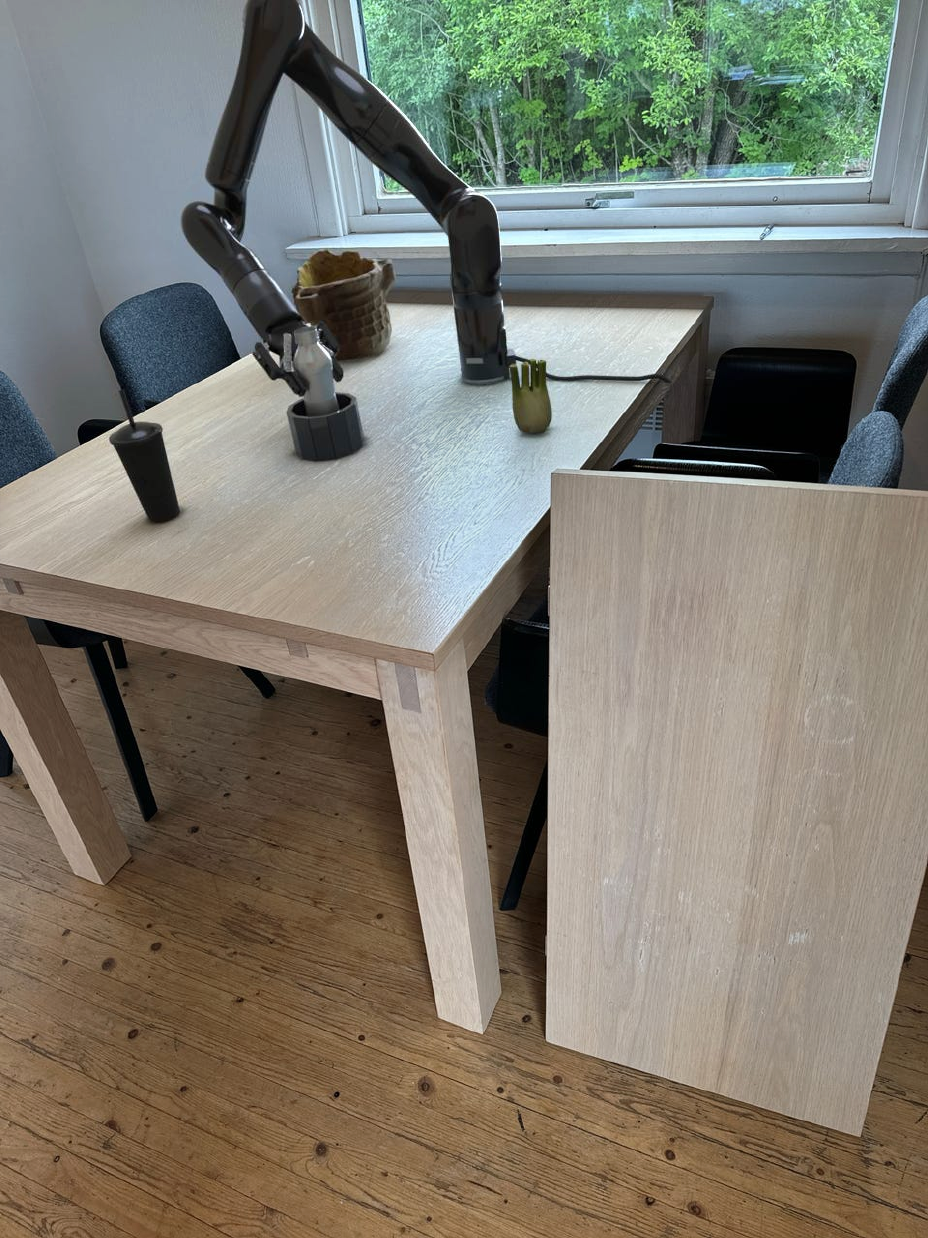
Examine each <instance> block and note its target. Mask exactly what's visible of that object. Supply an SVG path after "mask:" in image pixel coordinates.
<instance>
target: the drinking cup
mask: <svg viewBox="0 0 928 1238" xmlns="http://www.w3.org/2000/svg"><path fill="white" fill-rule="evenodd" d="M118 394H119V397H120V399H121V403H122V405H123V408H124V411H125V414H126V416H127V420H128V422H129V423H128V424H124V425H122V426H120V428H118V429H117V430H116V431H114V432H113V433H112V434H110V436H109V438H108V441H109V444H110V445H112V446H113V448H114V450H115V452H116V454H117V456H118V459H119V460H120V462H121V464H122V466H123V468H124V471H125V473H126V475H127V477H128V479H129V481H130V484H131V485H132V487H133V490H134V493H135V495H136V496H137V498H138V500H139V502H140V504H141V506H142V509H143V511H144V513H145V515H146V517H147V519H148V521H149V522H151V523H158V524H159V523H164V522H168V521H171V520H173V519H175V518H176V517H178V516H179V515H180V513H181V510H180V506H179V502H178V497H177V493H176V489H175V485H174V484H175V483H174V480H173V475H172V471H171V467H170V463H169V458H168V454H167V450H166V445H165V441H164V436H163V432H164V431H163V430H164V429H163V426H162V425H161V424H160V423H158V422H150V421H135V419H134V416H133V414H132V410H131V408H130V406H129V402H128V399H127V396H126V394H125V391H124V389H119V390H118Z"/></svg>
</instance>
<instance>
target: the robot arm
mask: <svg viewBox="0 0 928 1238" xmlns="http://www.w3.org/2000/svg"><path fill="white" fill-rule="evenodd" d="M241 20H242V21H241V23H242V30H243V32H242V40H241V49H240V53H239V59H238V63H237V67H236V73H235V77H234V80H233V83H232V86H231V89H230V93H229V95H228V99H227V100H226V101H227V102H226V104H225V107H224V109H223V112H222V115H221V117H220V120H219V123H218V126H217V129H216V131H215V135H214V138H213V141H212V145H211V149H210V151H209V155H208V159H207V162H206V165H205V170H204V179H205V181H206V183H207V184H208V185H209V186H211V187H212V188H213V204H212V203H210V202H206V201H203V200H195V201H193V202H192V201H191V202H189V203H188V204H186V206H185V207H183V210H182V211H181V215H180V228H181V232H182V234H183V236H184V238H185V240H186V242H187V243H188V245H189V246H190V247H191V249H193V251H194V252H195V253H196V254H197V255H198V256H199V257H200V258H201V259H202V260H203V261H204V262H205V263H206V264H208V266H209V267H210V268H211V269H213V270H214V271H215V273H216V274H217V275H218V276H220V278H221V280H222V281H223V283H224V284H225V286H226V287H227V288H228V290H229V291H230V293H231V294H232V296H233V297H234V299H235V300H236V302H237V305H238V306H239V308H240V310H241V311H242V313H243V314H244V316H245V318H246V319H247V320H248V321H249V323H250V324H251V325H252V327H253V329H254V330H255V332H256V333H257V334H258V336H259V337H260V339H261V340H262V341H263V343H262V342H260V341H257V342H255V344H254V347H253V350H252V356H253V357H254V359H255V360H256V362H257V363H258V365H260V367H261V368H262V369H263V371H264V372H265V374H266V376H268V378H269V379H270V380H271V381H274V382H275V381H277V380H283V381H285V383H286V384H287V386H288V387H289V389H290V390H291V391H292V393H293V394H294V395H296V396H298V397H299V398H303V396H304V395H305V393H306V387H305V386H304V384H303V383H302V381H301V380H300V378H299V377H298V376H297V374H296V373H295V371H293V367H292V359H293V356H294V353H295V351H296V349H297V347H298V344H296V343H295V335H294V331H295V330H296V329H299V328H302V327H316V328H317V332H318V336H319V340H318V343H319V344H320V345H321V346H322V347H323V348H324V349H325V350H326V351H327V352H328V353H329V355H330V357H331V359H332V366H333V380H334V382H335V383H336V384H337V383H339V382H342V380H343V379H344V373H345V372H344V368H343V367H342V366H341V364H340V363H339V361H337V360H336V359H335V357H336V356H337V353H338V351H339V349H340V346H339V344H338V343H337V341H336V340H335V338H334V337H333V335H332V334H331V332H330V331H329V329H328V328H327V326H326V325H325V323H324V322H323V321H319V322H318V324H317V325H315V326H311V325H310V326H309V325H307V323H306V322H304V321H302V319H301V316H300V314H299V312H298V311H297V309H296V306H295V304H293V302H292V301H291V299H290V298H289V296H288V295H287V294H286V292H285V291H284V290H283V288H282V287H281V285H280V284H279V283H278V281H277V280H276V279H275V278H274V277H273V275H272V274H270V273H271V272H269V270H268V269H267V268H266V266H265V265H264V263H263V262H262V261H261V259H260V258H259V257H258V255H257V254H256V253H255V251H254V250H253V249H251V248H250V247H249V246H247V245H245V244H243V243H241V241H242V239H243V237H244V234H245V228H246V217H247V205H248V204H247V203H248V188H249V185H250V182H251V179H252V176H253V173H254V169H255V166H256V164H257V161H258V160H257V159H258V157H259V153H260V150H261V146H262V141H263V138H264V134H265V130H266V127H267V122H268V118H269V114H270V111H271V108H272V105H273V101H274V99H275V95H276V93H277V90H278V87H279V85H280V82H281V80H282V78H283V75H285V76H286V77H288V78H289V79H290V80H291V81H292V82H293V83H295V84H296V85H297V86H298V87H299V88H300V89H302V90H303V92H305V93H306V94H307V95H308V96H309V97H310V99H311V100H312V101H313V102H314V103H315V104H316V106H317V107H318V109H320V110H321V111H322V113H323V115H325V116H326V118H327V119H328V120H329V121H330V122H331V124H333V125H334V126H335V127H336V128H337V130H338V131H339V132H340V133H341V134H342V135H343V136H344V137H345V139H346V140H348V142H350V144H352V145H353V146H354V147H355V148H356V150H357V151H359V152H360V154H362V155H363V156H364V157H365V158H366V159H367V160H368V161H369V162H370V163H371V164H372V165H374V166H375V167H376V168H377V169H378V170H380V171H381V172H382V173H383V174H384V175H386V176H387V177H388V178H390V179H391V180H393V181H394V182H395V183H396V184H397V185H399V186H400V187H402V188H404V190H406V191H407V192H409V193H410V194H411V195H412V196H413V197H414V198H415V199H416V200H417V201H418V202H419V203H420V204H421V205H422V207H424V209H426V211H427V213H429V214H430V215H431V217H432V218H433V220H435V221H436V223H437V224H438V225H439V226H440V229H442V231H443V232H444V234H445V235H446V236H447V240H448V249H449V259H450V275H449V279H450V289H451V296H452V305H453V306H452V307H453V312H454V322H455V330H456V339H457V347H458V355H459V364H460V372H461V376H460V377H461V380H462V382H463V383H465V384H467V385H468V384H469V385H476V386H481V385H482V386H483V385H490V384H495V383H499V382H501V381H505V380H510V379H511V373H510V365H512V364H516V365H517V362H521V363H524V362H528V364H529V366H530V359H528V358H524V357H521V356H519V355H517V354H516V350H515V348H508V341H507V340H508V339H507V331H506V324H505V314H504V303H503V293H502V292H503V291H502V280H501V272H502V263H503V262H502V246H501V234H500V222H499V216H498V212H497V208H496V207H495V205H494V204H493V202H492V201H491V200H490V198H488V197H487V196H485V195H484V194H482V193H480V192H479V191H477V190H475V189H474V188H473V187H471V186H470V185H468V184H467V183H466V182H465V181H464V180H462V179H461V178H460V177H458V176H457V175H456V174H455V173H454V172H453V171H452V170H450V169H449V168H448V167H447V166H446V165H445V164H444V163H443V162H442V161H441V160H440V158H439V157H438V156H437V155H436V153H435V152H434V151H433V150H432V148H431V146H430V145H429V144H428V142H427V141H426V139H425V138H424V136H423V135H422V134H421V132H420V131H419V130H418V128H417V127H416V126H415V125H414V124H413V122H412V121H411V120H410V119H409V118H408V116H407V115H406V114H405V113H404V112H403V111H402V110H401V109H400V108H399V107H398V105H396V104H395V103H394V102H393V101H392V100H391V99H390V98H389V96H387V95H386V93H384V92H383V91H382V90H381V89H379V88H378V87H377V86H376V85H375V84H374V83H373V82H371V81H370V80H369V79H368V78H366V77H365V76H364V75H362V74H361V73H360V72H358V71H357V70H355V69H354V68H353V67H351V66H350V65H348V64H347V63H346V62H344V61H343V60H342V59H340V58H339V57H338V56H337V55H336V54H335V53H333V52H332V51H331V50H330V49H329V48H328V46H326V44H325V42H323V41H322V40H321V39H320V37H319V36H318V35H317V34H316V33H315V32H314V30H313V29H312V28H311V27H310V26H309V24H308V23H307V22H306V21H305V16H304V12H303V9H302V6H301V5H300V2H299V1H298V0H246V1H245V4H244V6H243V10H242V19H241ZM270 352H271V353H272V354H275V355H277V356H278V360H279V361H278V362H279V364H278V363H277V362H276V361H275V359H274V358H273V357H272V356H271V354H270ZM536 365H537V366H536V369H537V368H538V362H536ZM546 379H549V380H552V381H557V382H558V381H560V382H575V381H608V382H609V381H610V382H613V381H614V382H642V381H648V380H654V379H658V380H661V381H663V382H664V383H665V384H671V383H672V380H671V379H670V378H668V377H667V376H665V375H663V374H661V373H651V374H645V375H640V376H638V375H637V376H635V375H634V376H633V375H632V376H631V375H630V376H628V375H627V376H626V375H624V376H623V375H597V374H596V375H594V374H583V375H582V374H581V375H569V376H559V375H553V374H550V373H549V372H547V371H546Z"/></svg>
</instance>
